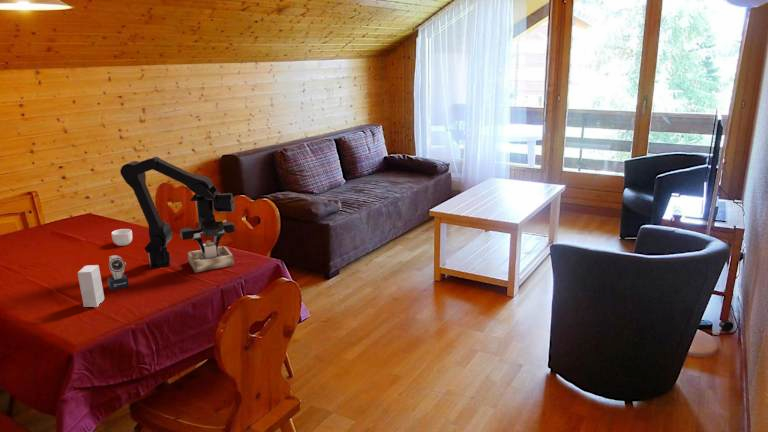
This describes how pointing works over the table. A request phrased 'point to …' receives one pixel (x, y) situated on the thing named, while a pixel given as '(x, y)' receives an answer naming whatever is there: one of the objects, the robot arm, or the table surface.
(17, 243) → the table surface
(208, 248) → the connector plug
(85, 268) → the skincare box
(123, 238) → the teacup
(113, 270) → the watch
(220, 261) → the socket box
